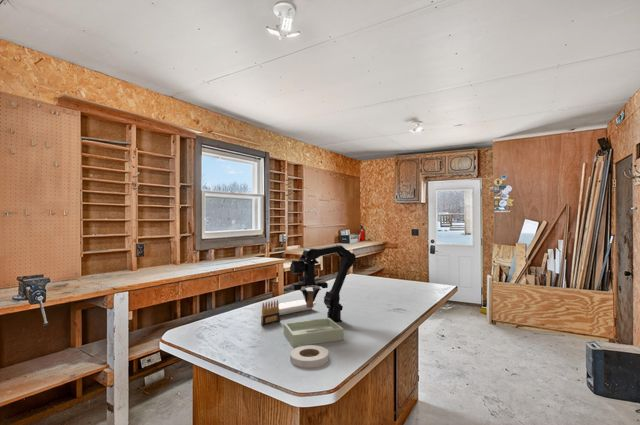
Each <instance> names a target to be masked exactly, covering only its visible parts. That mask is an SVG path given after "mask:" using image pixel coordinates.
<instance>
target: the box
mask: <svg viewBox="0 0 640 425" xmlns="http://www.w3.org/2000/svg"><path fill="white" fill-rule="evenodd" d="M283 335H284V336H285V338H286V339H287V340H288V342H289V343H290V344H291V346H292V347H293V348H297V347H301V346H307V345H316V344H323V343H330V342H336V341H337V342H338V341H343V340H344V328H343V327H342V326H341V325H339V324H338V322H334V321H333V320H331V319H330V318H317V319H309V320H308V319H307V320H302V321H301V320H300V321H292V322H284V323H283Z"/></svg>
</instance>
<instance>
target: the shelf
mask: <svg viewBox="0 0 640 425" xmlns="http://www.w3.org/2000/svg"><path fill="white" fill-rule="evenodd" d="M278 305H279V316H284V315H290V314H294V313H300V312H303V311H309V310H312V309H314V307H315V306H316V305H317V302H316V301H314V302H313V307H312V308H307V307H306V302H305V299H298V300H292V301H286V302H281V303H278ZM273 306H274V304H273ZM267 308H268V305H267ZM270 308H271V304H270Z"/></svg>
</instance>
